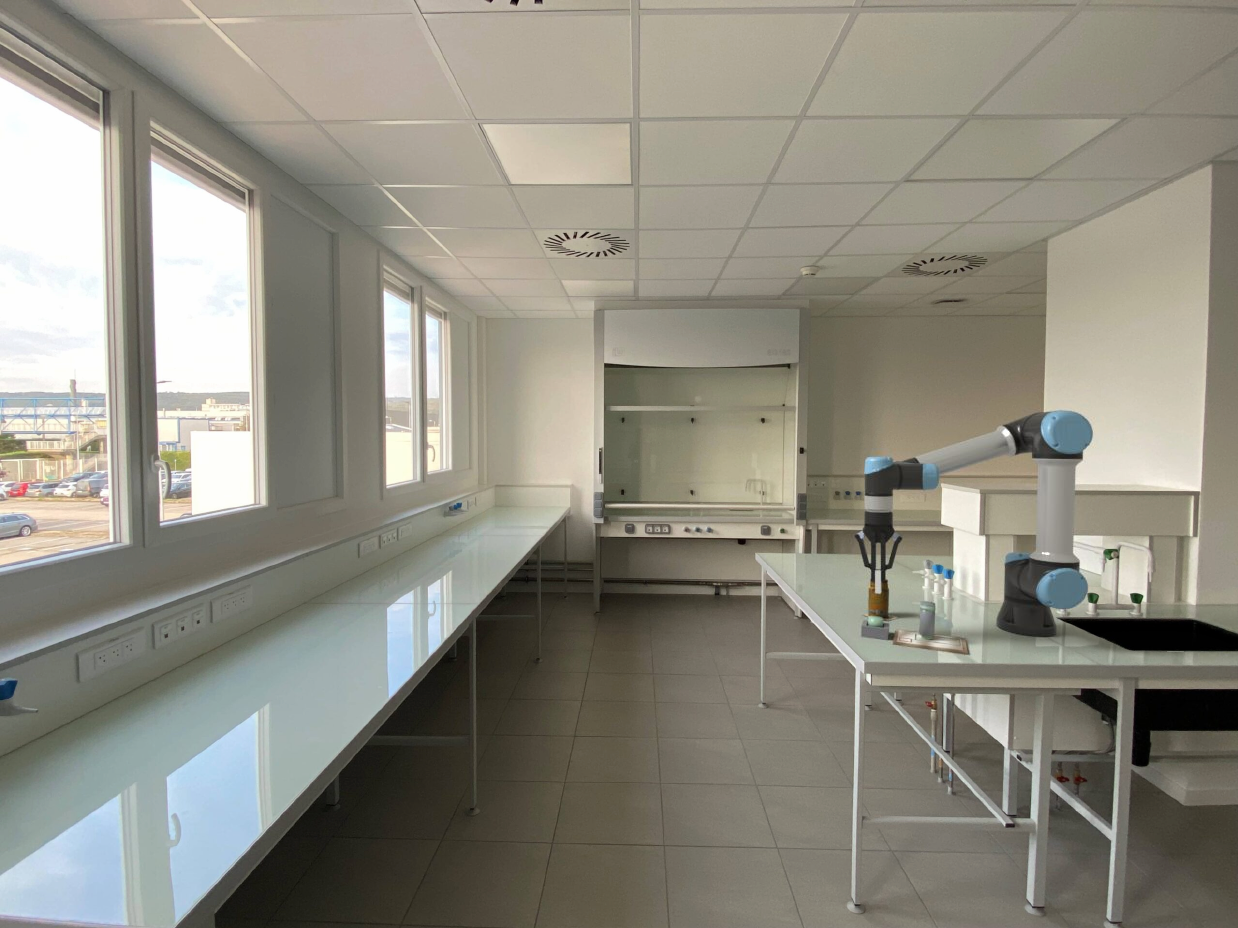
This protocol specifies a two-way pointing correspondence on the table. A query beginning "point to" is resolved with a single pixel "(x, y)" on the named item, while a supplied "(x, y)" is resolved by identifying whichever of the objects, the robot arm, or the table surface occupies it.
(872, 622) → the button
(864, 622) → the button box
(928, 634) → the marker
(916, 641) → the framed board
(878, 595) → the condiment
